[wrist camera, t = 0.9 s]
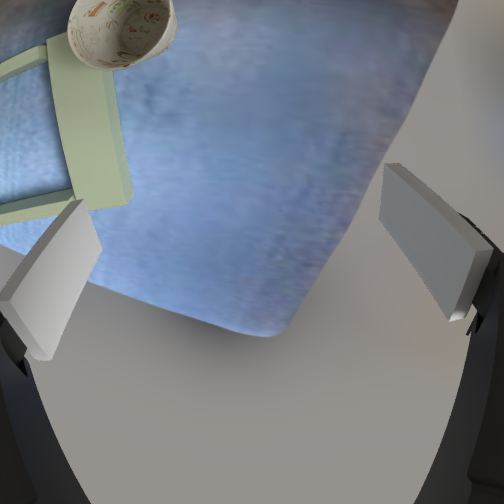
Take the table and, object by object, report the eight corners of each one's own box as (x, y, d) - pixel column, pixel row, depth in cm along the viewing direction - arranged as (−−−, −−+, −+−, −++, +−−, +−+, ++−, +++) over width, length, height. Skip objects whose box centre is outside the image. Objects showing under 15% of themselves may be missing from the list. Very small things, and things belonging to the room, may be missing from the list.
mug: (103, 64, 26) (57, 67, 18) (134, -40, 20) (100, -71, 11) (177, 73, 28) (155, 77, 19) (211, -33, 21) (204, -70, 13)
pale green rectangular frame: (-34, 87, 23) (-54, 93, 20) (108, 23, 23) (93, 19, 20) (-2, 218, 34) (-16, 233, 31) (134, 194, 34) (124, 209, 31)
